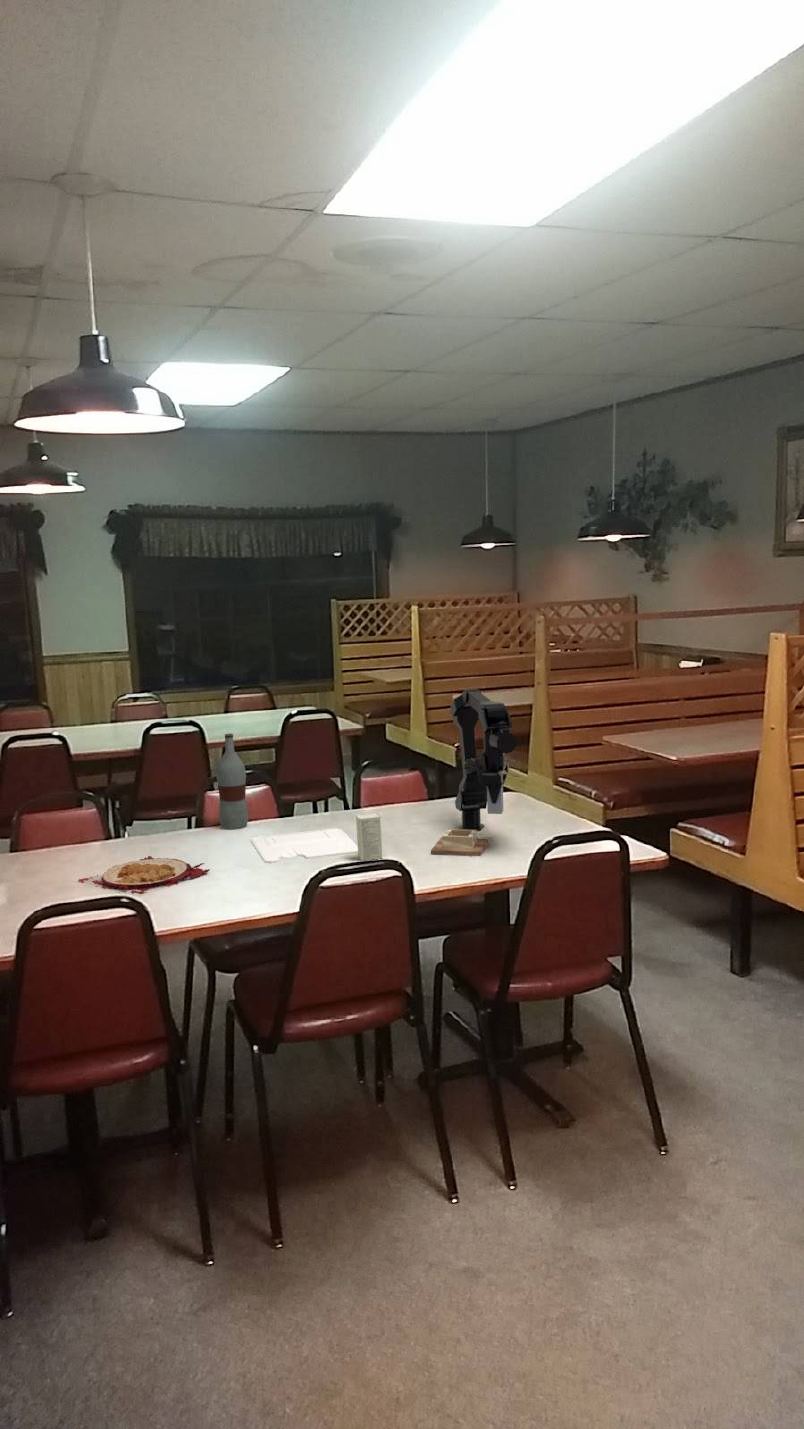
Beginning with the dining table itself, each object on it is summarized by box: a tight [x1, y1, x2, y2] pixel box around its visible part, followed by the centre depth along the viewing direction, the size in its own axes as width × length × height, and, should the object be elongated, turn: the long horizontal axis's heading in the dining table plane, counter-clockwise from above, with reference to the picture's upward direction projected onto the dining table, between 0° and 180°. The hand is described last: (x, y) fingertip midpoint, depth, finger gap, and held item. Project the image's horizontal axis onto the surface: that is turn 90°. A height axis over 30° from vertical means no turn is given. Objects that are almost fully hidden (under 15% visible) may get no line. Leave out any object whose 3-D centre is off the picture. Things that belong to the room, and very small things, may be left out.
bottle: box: [216, 733, 249, 831], centre depth 307 cm, size 9×9×30 cm
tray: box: [250, 828, 358, 864], centre depth 283 cm, size 28×28×2 cm
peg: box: [486, 785, 504, 815], centre depth 274 cm, size 4×4×10 cm
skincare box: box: [355, 813, 383, 862], centre depth 267 cm, size 6×4×12 cm
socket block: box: [430, 828, 490, 857], centre depth 274 cm, size 14×14×4 cm
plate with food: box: [78, 855, 210, 895], centre depth 257 cm, size 24×26×3 cm
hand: (495, 801), depth 274 cm, fingers closed on peg, 4 cm apart
